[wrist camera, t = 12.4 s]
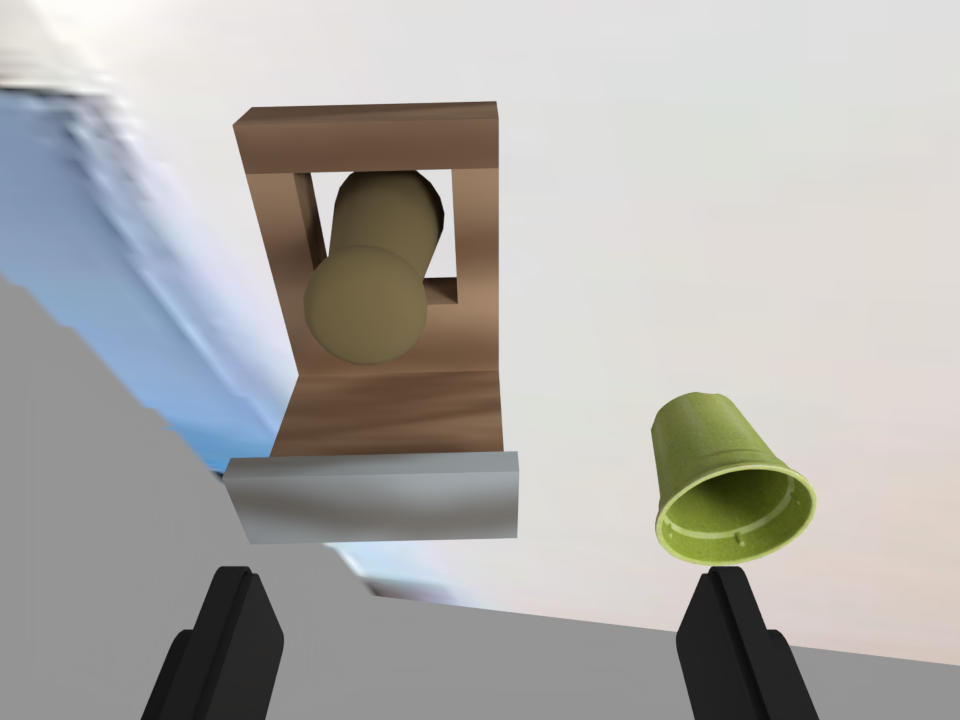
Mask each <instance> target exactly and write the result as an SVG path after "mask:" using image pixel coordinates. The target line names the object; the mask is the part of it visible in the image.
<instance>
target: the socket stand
mask: <svg viewBox="0 0 960 720" xmlns="http://www.w3.org/2000/svg"><path fill="white" fill-rule="evenodd" d="M232 126H233V130H234V134H235V137H236V141H237V145H238V149H239V152H240V156H241V160H242V164H243V168H244V171H245V175H246V179H247V183H248V186H249V190H250V194H251V198H252V201H253V205H254V209H255V213H256V216H257V220H258V224H259V228H260V232H261V235H262V239H263V243H264V247H265V250H266V254H267V258H268V262H269V265H270V269H271V273H272V277H273V280H274V284H275V288H276V292H277V296H278V299H279V303H280V307H281V311H282V314H283V318H284V322H285V326H286V329H287V333H288V337H289V341H290V344H291V348H292V352H293V356H294V360H295V363H296V367H297V371H298V375H299V376H298V379H297V381H296V384H295V387H294V390H293V392H292V395H291V398H290V401H289V403H288V406H287V409H286V412H285V414H284V417H283V420H282V423H281V425H280V428H279V431H278V434H277V436H276V439H275V442H274V445H273V447H272V450H271V453H270V456H269V457H249V458H230V461H229V463H228V465H227V468H226V470H225V472H224V475H223V477H222V480H223V482H224V484H225V487H226V489H227V491H228V494H229V496H230V498H231V501H232V503H233V505H234V508H235V510H236V512H237V515H238V517H239V520H240V522H241V524H242V527H243V529H244V531H245V534H246V536H247V538H248V541H249V543H250V544H291V543H334V542H376V541H419V540H462V539H505V538H517V532H518V500H519V461H518V451H504V445H503V429H502V413H501V397H500V380H499V116H498V108H497V101H480V102H439V103H397V104H356V105H315V106H273V107H251V108H250V109H249V110H248V111H247V112H246V113H245V114H244V115H243V116H241V117H240V118H239V119H238V120H237V121H236V122H235V123H234V124H233V125H232ZM444 169H451V173H452V193H453V213H454V234H455V254H456V274H457V277H435V278H424V279H423V282H422V283H423V286H424V289H425V293H426V296H427V299H428V302H427V318H426V324H425V326H424V329H423V331H422V333H421V335H420V337H419V339H418V340H417V342H416V344H414V345H413V346H412V347H411V348H410V349H409V350H408V351H407V352H406V353H405V354H404V355H402V356H399V357H397V358H395V359H393V360H391V361H389V362H387V363H383V364H377V365H371V366H370V365H357V364H352V363H349V362H346V361H343V360H340V359H338V358H337V357H335V356H333V355H332V354H330V353H329V352H327V351H326V350H325V349H324V348H323V347H322V346H321V345H320V344H319V343H318V342H317V341H316V339H315V338H314V337H313V336H312V334H311V332H310V330H309V327H308V325H307V323H306V321H305V314H304V300H303V296H304V293H305V290H306V287H307V283H308V281H309V278H310V276H311V274H312V273H313V272H314V270H315V269H316V268H317V267H318V266H319V264H320V263H321V262H322V261H323V260H324V259H326V258H327V253H326V248H325V243H324V238H323V233H322V227H321V222H320V217H319V212H318V207H317V202H316V197H315V192H314V187H313V182H312V177H311V173H319V172H360V171H402V170H444Z"/></svg>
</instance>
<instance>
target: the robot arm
mask: <svg viewBox="0 0 960 720" xmlns="http://www.w3.org/2000/svg"><path fill="white" fill-rule="evenodd" d="M283 648H284V634H283V631H282V629H281V627H280V624H279V622H278V619H277V617H276V615H275V612H274V610H273V608H272V605H271V603H270V601H269V598H268V596H267V593H266V591H265V589H264V586H263V584H262V582H261V579H260V577H259V575H258V574H257V573H252V571H251V569H250V568H249V567H248V566H221V567H219V568H218V569H217V570H216V572H215V574H214V576H213V579H212V581H211V584H210V587H209V589H208V592H207V594H206V597H205V599H204V602H203V605H202V607H201V610H200V612H199V615H198V618H197V620H196V623H195V625H194V628H193V629H184V630H182V631H181V632H179V633H178V635H177V636H176V637H175V639H174V640H173V642H172V644H171V646H170V648H169V651H168V653H167V656H166V658H165V661H164V663H163V665H162V668H161V670H160V673H159V675H158V678H157V680H156V683H155V685H154V688H153V690H152V692H151V695H150V697H149V700H148V702H147V705H146V707H145V710H144V712H143V715H142V717H141V719H140V720H265V719H266V715H267V711H268V707H269V703H270V700H271V696H272V692H273V688H274V684H275V680H276V676H277V672H278V669H279V665H280V661H281V657H282V653H283ZM676 648H677V653H678V657H679V661H680V665H681V669H682V672H683V676H684V680H685V684H686V688H687V692H688V696H689V700H690V703H691V707H692V711H693V715H694V719H695V720H820V719H819V717H818V715H817V712H816V710H815V707H814V705H813V702H812V700H811V697H810V695H809V692H808V690H807V688H806V685H805V683H804V680H803V678H802V675H801V673H800V670H799V668H798V665H797V663H796V661H795V658H794V656H793V653H792V651H791V648H790V646H789V644H788V642H787V640H786V639H785V637H784V636H783V635H782V633H781V632H779V631H778V630H776V629H767V628H766V625H765V623H764V620H763V618H762V615H761V612H760V610H759V607H758V605H757V602H756V599H755V597H754V594H753V592H752V589H751V587H750V584H749V581H748V579H747V576H746V574H745V572H744V570H743V569H742V568H741V567H739V566H712V567H711V568H710V569H709V571H708V573H703V574H702V575H701V577H700V579H699V582H698V584H697V586H696V589H695V591H694V593H693V596H692V598H691V601H690V603H689V605H688V608H687V610H686V612H685V615H684V617H683V619H682V622H681V624H680V627H679V629H678V631H677V634H676Z"/></svg>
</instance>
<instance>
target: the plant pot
mask: <svg viewBox="0 0 960 720" xmlns="http://www.w3.org/2000/svg"><path fill="white" fill-rule="evenodd" d="M651 435H652V442H653V449H654V456H655V462H656V469H657V477H658V484H659V492H660V500H659V511H658V513H657V516H656V521H655V532H656V536H657V539H658V541H659V543H660V545H661V546H662V547H663V548H664V549H665V550H666V551H667V552H668V553H669V554H670V555H672V556H673V557H675V558H677V559H680V560H682V561H685V562H688V563H692V564H697V565H704V566H726V565H734V564H740V563H745V562H749V561H752V560H756V559H759V558H762V557H764V556H767V555H769V554H771V553H774V552H776V551H777V550H779V549H781V548H783V547H785V546H786V545H788V544H789V543H790V542H792V541H793V540H795V539H796V538H797V537H798V536H800V535H801V534H802V533H803V532H804V530H805V529H806V528H807V527H808V526H809V524H810V523H811V521H812V520H813V518H814V515H815V512H816V507H817V496H816V493H815V490H814V488H813V487H812V485H811V484H810V482H809V481H808V480H807V479H806V478H805V477H804V476H802V475H801V474H800V473H798V472H797V471H795V470H793V469H791V468H789V467H788V466H787V465H786V464H785V463H784V462H783V461H782V460H780V459H778V458H777V457H776V456H775V455H774V453H773V452H772V451H771V450H770V448H769V447H768V446H767V445H766V443H765V442H764V441H763V439H762V438H761V437H760V436H759V435H758V433H757V432H756V431H755V430H754V428H753V427H752V426H751V425H750V423H749V422H748V421H747V419H746V418H745V417H744V416H743V414H742V413H741V412H740V411H739V409H738V408H737V407H736V406H735V404H734V403H733V402H732V401H731V400H730V399H728V398H727V397H726V396H724V395H721V394H718V393H717V394H708V393H700V392H692V393H687V394H684V395H681V396H679V397H676V398H675V399H673V400H671V401H669V402H668V403H667V404H665V405H664V406H663V407H662V408H661V409H660V410H659V411H658V412H657V414H656V417H655V420H654V423H653V425H652V428H651Z"/></svg>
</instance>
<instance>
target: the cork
mask: <svg viewBox="0 0 960 720" xmlns="http://www.w3.org/2000/svg"><path fill="white" fill-rule="evenodd" d="M444 215H445V213H444V209H443V205H442V201H441V198H440V196H439V194H438V193H437V191H436V190H435V188H434V187H433V185H432V183H431V182H430V181H429V180H427V179H426V178H425V177H424V176H423V175H421V174H420V173H419V172H418V171H416V170H402V171H360V172H353V173H351V174H350V175H349V176H348V177H347V178H346V180H345V181H344V182H343V184H342V185H341V186H340V187H339V191H338V194H337V197H336V200H335V204H334V213H333V221H332V229H331V238H330V246H329V255H328V257H327V258H326V259H324V260H323V261H322V262H321V263H320V264H319V266H318V267H317V268H316V269H315V270H314V272H313V273H312V274H311V276H310V278H309V281H308V283H307V287H306V290H305V293H304V296H303V300H304V314H305V321H306V323H307V325H308V327H309V330H310V332H311V334H312V336H313V337H314V338H315V339H316V341H317V342H318V343H319V344H320V345H321V346H322V347H323V348H324V349H325V350H326V351H327V352H329V353H330V354H332V355H333V356H335V357H337V358H338V359H340V360H343V361H346V362H349V363H352V364H357V365H370V366H371V365H377V364H383V363H387V362H389V361H391V360H393V359H395V358H397V357H399V356H402V355H404V354H405V353H406V352H407V351H408V350H409V349H410V348H411V347H412V346H413V345H414V344H416V342H417V340H418V339H419V337H420V335H421V333H422V331H423V329H424V326H425V324H426V318H427V302H428V299H427V296H426V293H425V289H424V286H423V283H422V282H423V279H424V277H425V274H426V272H427V269H428V267H429V264H430V262H431V259H432V257H433V254H434V252H435V249H436V247H437V244H438V242H439V239H440V237H441V234H442V232H443V229H444Z"/></svg>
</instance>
